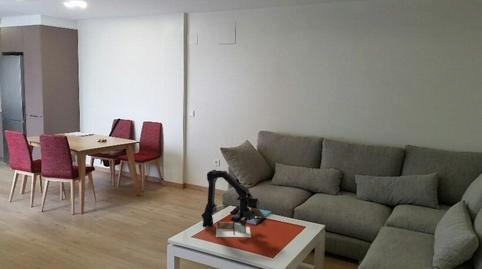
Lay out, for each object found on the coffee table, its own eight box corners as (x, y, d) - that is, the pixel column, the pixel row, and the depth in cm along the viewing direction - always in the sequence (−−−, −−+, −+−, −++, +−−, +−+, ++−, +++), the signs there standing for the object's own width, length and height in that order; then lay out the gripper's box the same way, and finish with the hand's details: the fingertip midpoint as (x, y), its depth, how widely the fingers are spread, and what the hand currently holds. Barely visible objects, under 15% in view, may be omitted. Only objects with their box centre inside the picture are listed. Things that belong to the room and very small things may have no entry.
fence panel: (234, 228, 266) (234, 222, 265) (235, 228, 267) (235, 222, 266) (245, 232, 259) (245, 226, 259) (246, 232, 260) (246, 226, 260)
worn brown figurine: (249, 221, 288) (244, 198, 286) (249, 218, 294) (245, 196, 291) (264, 219, 287) (260, 196, 285) (264, 216, 293) (260, 193, 290)
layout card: (216, 237, 253) (216, 236, 253) (216, 226, 270) (216, 226, 270) (251, 237, 254) (251, 236, 254) (249, 227, 271) (249, 226, 271)
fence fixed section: (217, 229, 266) (217, 222, 265) (217, 228, 267) (217, 221, 266) (234, 229, 266) (234, 222, 266) (234, 228, 267) (234, 221, 267)
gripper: (242, 213, 249) (242, 235, 252) (261, 206, 262) (261, 227, 265) (230, 208, 257) (230, 230, 259) (249, 201, 270) (249, 222, 272)
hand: (243, 228), depth 264 cm, fingers closed
